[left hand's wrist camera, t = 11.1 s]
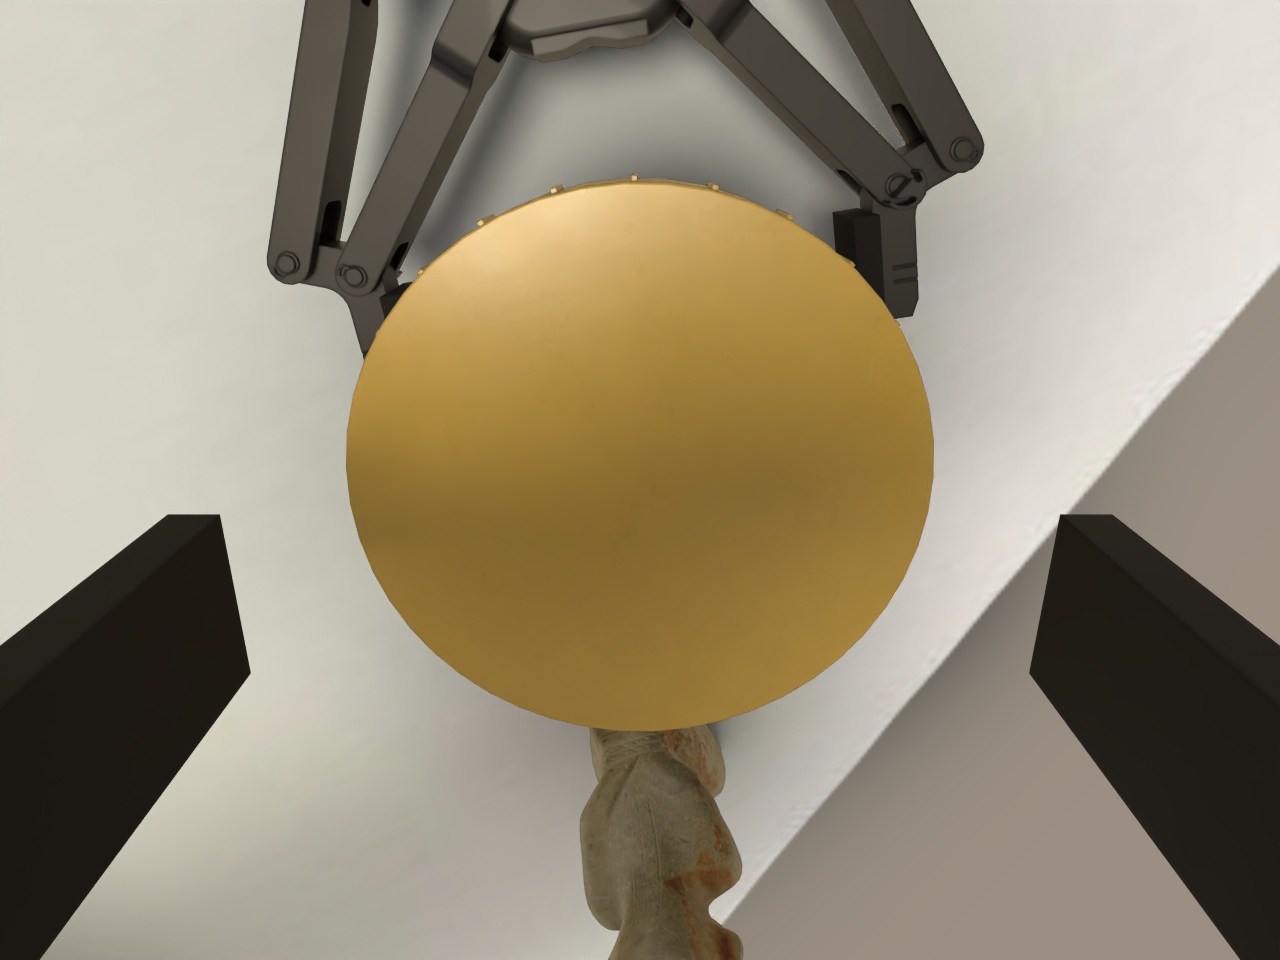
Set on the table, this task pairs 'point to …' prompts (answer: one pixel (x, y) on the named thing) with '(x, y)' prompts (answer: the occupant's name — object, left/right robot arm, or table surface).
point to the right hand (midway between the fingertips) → (659, 456)
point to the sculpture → (659, 844)
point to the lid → (640, 455)
